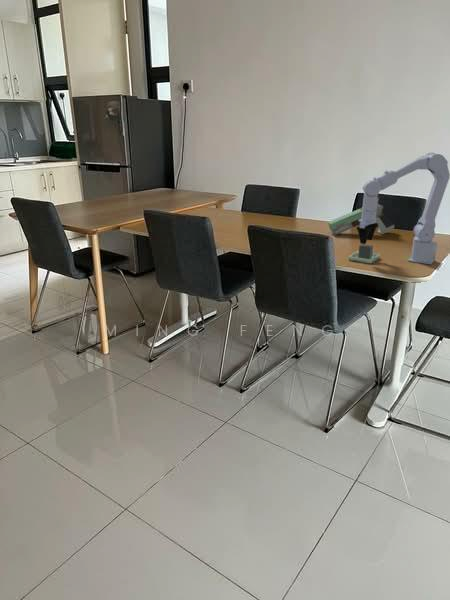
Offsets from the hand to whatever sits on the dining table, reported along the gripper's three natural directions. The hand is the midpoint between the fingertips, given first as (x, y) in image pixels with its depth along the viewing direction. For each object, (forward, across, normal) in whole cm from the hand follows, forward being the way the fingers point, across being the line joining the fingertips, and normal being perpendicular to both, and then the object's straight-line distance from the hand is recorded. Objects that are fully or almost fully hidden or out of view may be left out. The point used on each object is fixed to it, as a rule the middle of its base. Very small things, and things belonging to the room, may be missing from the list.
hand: (366, 241), depth 194 cm
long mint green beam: (+8, -46, -18) cm, 50 cm away
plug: (+7, 0, 0) cm, 7 cm away
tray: (+8, 0, 0) cm, 8 cm away
